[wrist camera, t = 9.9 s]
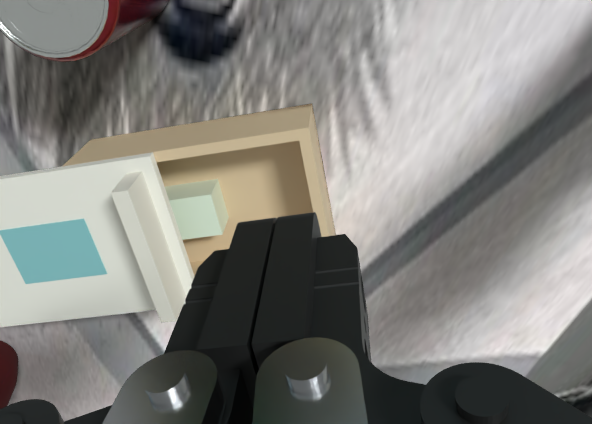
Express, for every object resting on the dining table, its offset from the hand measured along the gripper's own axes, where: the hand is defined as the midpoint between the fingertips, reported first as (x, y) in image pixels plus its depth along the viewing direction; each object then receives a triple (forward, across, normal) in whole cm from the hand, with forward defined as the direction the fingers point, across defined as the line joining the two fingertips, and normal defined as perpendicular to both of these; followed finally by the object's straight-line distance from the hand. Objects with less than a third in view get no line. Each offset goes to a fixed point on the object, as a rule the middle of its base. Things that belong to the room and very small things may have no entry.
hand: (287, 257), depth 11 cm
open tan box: (+31, +11, +13) cm, 35 cm away
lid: (+26, +22, +13) cm, 36 cm away
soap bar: (+30, +13, +13) cm, 36 cm away
